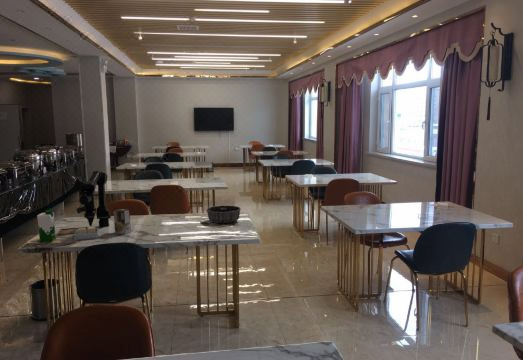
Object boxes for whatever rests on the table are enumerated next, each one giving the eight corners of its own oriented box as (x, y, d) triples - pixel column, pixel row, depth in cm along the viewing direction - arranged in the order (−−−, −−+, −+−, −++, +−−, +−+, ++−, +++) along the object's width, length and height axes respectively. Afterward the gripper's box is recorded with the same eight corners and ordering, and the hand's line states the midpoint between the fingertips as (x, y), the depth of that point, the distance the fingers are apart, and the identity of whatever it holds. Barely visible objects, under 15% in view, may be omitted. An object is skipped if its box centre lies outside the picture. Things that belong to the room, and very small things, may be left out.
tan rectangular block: (86, 235, 297) (85, 227, 296) (85, 237, 293) (85, 229, 292) (79, 235, 295) (78, 227, 295) (78, 237, 291) (77, 229, 290)
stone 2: (95, 234, 299) (95, 226, 298) (95, 236, 294) (94, 228, 293) (88, 235, 297) (88, 227, 296) (88, 236, 293) (87, 228, 292)
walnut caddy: (88, 228, 317) (88, 226, 317) (87, 233, 303) (87, 231, 303) (60, 230, 311) (60, 228, 311) (57, 235, 297) (57, 234, 297)
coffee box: (131, 231, 306) (130, 209, 304) (125, 234, 300) (124, 211, 298) (120, 230, 309) (119, 208, 307) (114, 233, 303) (113, 210, 301)
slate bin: (99, 233, 304) (98, 228, 303) (97, 238, 290) (97, 233, 290) (77, 234, 300) (76, 229, 299) (74, 240, 286) (74, 235, 286)
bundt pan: (204, 218, 346) (204, 205, 344) (237, 216, 351) (237, 204, 350) (208, 226, 320) (208, 213, 319) (243, 224, 326) (243, 211, 325)
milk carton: (52, 242, 282) (49, 212, 279) (37, 242, 281) (35, 212, 278) (57, 238, 291) (55, 209, 288) (43, 239, 290) (40, 209, 287)
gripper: (77, 199, 298) (79, 222, 301) (75, 205, 281) (76, 228, 283) (95, 198, 302) (96, 221, 304) (93, 204, 284) (95, 227, 286)
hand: (91, 224), depth 294 cm, fingers open, 9 cm apart
